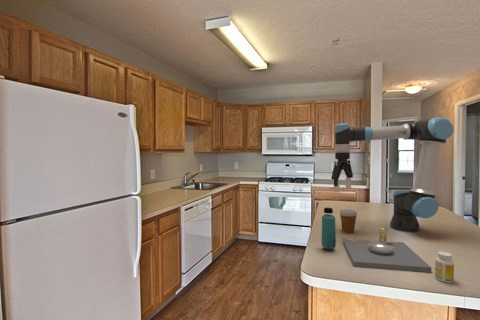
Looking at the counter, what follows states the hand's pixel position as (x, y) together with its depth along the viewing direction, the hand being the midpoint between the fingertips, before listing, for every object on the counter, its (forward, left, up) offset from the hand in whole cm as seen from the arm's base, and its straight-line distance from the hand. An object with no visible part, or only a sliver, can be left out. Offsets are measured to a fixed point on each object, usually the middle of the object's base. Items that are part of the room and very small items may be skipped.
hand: (342, 190), depth 145 cm
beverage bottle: (+10, +23, -25) cm, 35 cm away
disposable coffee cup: (-4, -8, -25) cm, 27 cm away
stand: (-12, +26, -25) cm, 38 cm away
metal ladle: (-14, +22, -23) cm, 34 cm away
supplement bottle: (-28, +45, -25) cm, 59 cm away
